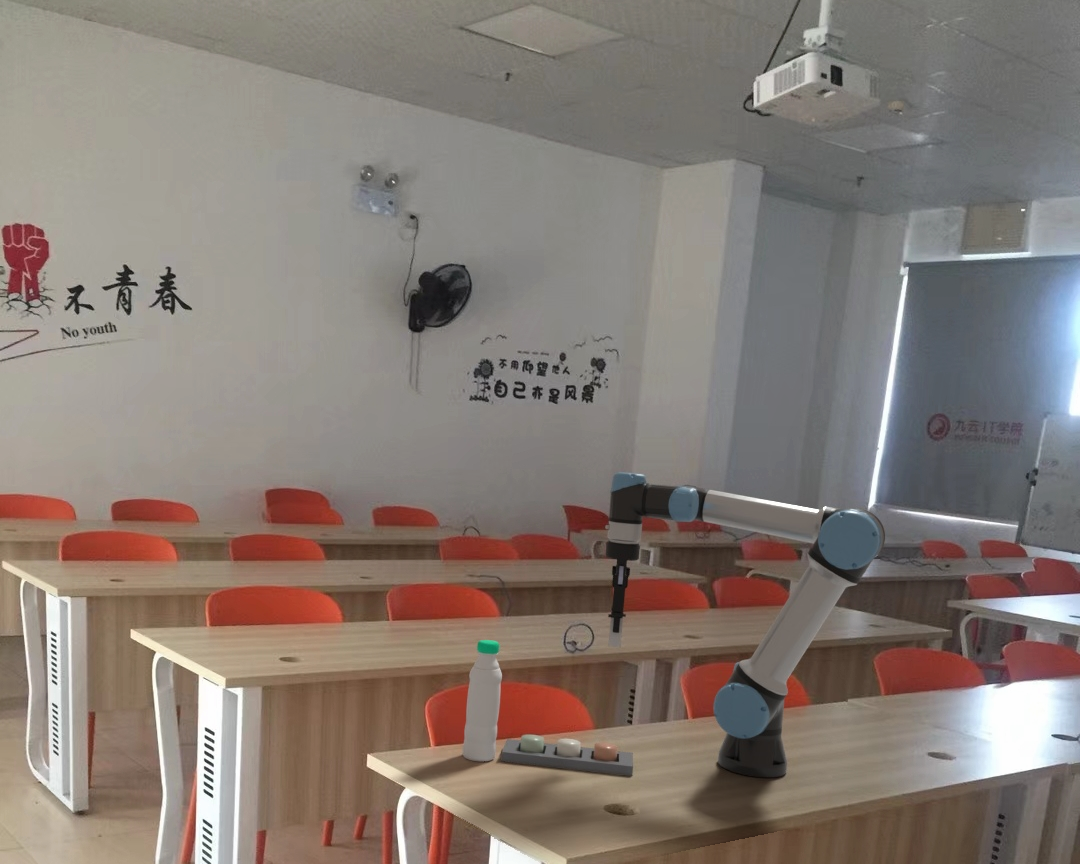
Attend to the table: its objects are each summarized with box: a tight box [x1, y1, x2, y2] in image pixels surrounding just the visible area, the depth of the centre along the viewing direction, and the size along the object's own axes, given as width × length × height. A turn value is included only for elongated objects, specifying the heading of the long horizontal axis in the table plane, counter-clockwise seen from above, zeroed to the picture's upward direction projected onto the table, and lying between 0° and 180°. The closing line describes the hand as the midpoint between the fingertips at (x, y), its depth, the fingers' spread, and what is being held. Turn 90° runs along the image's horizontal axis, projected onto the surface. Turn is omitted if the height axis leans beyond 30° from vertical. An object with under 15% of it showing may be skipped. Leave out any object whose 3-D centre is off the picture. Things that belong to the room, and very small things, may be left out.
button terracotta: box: [593, 742, 619, 762], centre depth 229 cm, size 5×5×4 cm
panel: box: [500, 738, 634, 777], centre depth 230 cm, size 28×10×2 cm, turn 85°
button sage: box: [520, 734, 545, 754], centre depth 231 cm, size 5×5×4 cm
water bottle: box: [462, 639, 503, 763], centre depth 228 cm, size 7×7×25 cm
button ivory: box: [557, 738, 582, 758], centre depth 230 cm, size 5×5×4 cm
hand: (614, 646), depth 237 cm, fingers closed
